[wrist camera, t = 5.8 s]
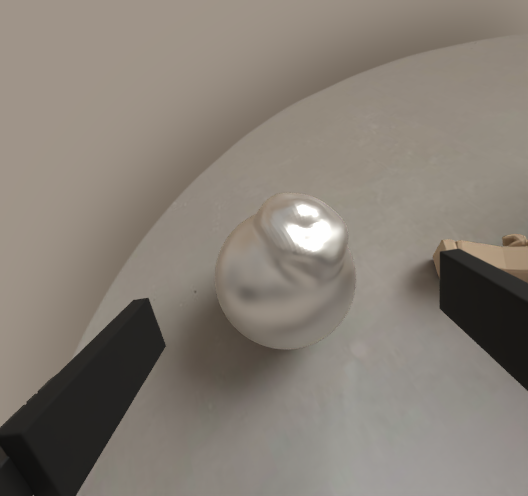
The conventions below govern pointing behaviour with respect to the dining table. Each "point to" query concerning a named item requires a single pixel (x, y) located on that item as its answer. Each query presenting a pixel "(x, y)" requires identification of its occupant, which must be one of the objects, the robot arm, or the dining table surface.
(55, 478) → the robot arm
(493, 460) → the dining table surface
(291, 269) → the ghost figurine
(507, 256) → the toy figure
